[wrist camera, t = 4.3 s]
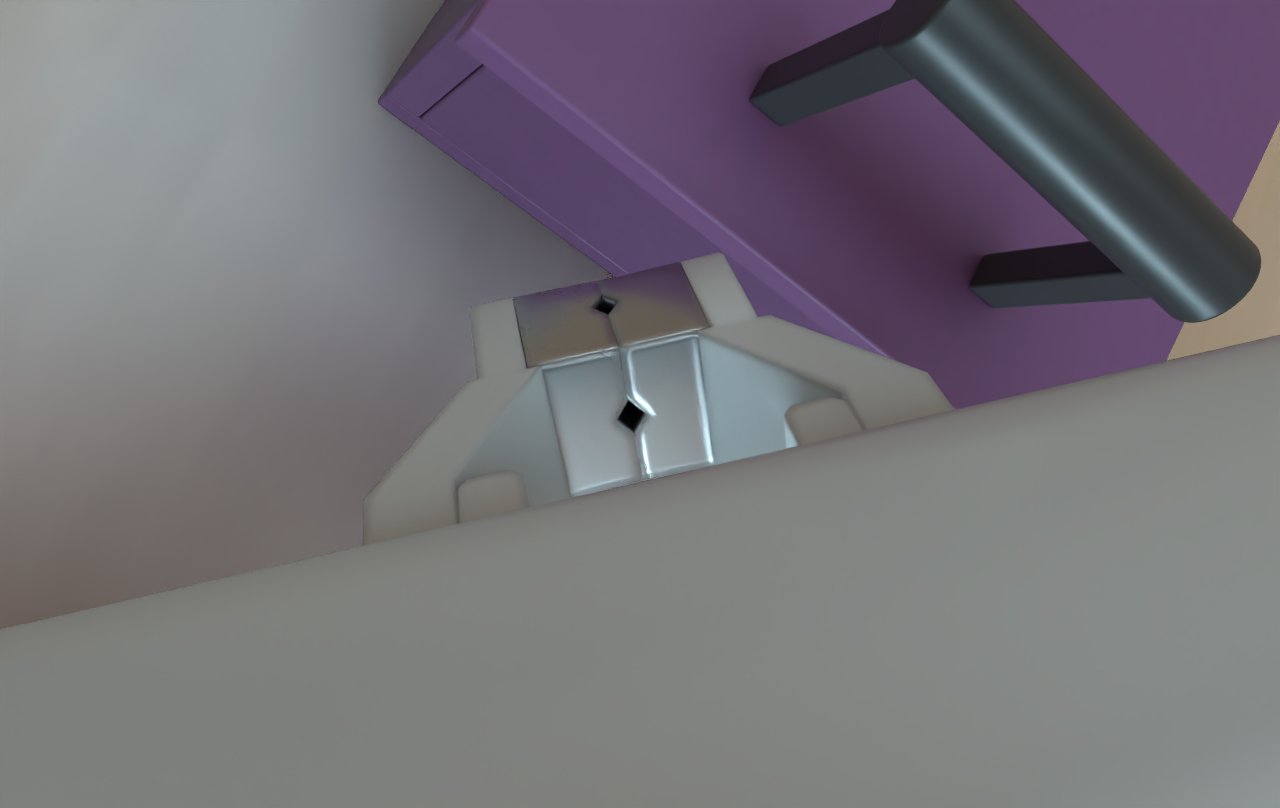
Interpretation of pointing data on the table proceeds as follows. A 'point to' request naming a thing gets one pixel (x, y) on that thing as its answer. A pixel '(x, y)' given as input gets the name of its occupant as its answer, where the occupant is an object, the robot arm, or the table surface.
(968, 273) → the folder lid
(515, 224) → the table surface
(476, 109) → the drawer box
